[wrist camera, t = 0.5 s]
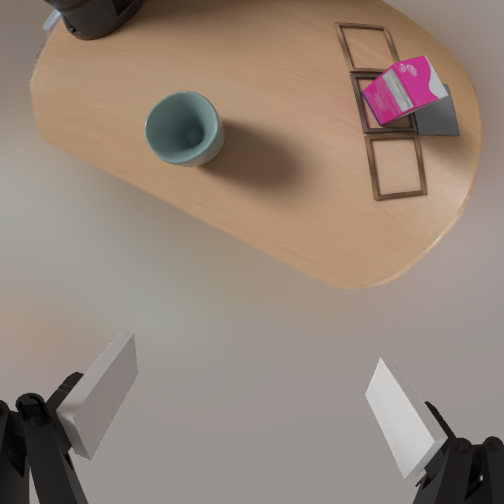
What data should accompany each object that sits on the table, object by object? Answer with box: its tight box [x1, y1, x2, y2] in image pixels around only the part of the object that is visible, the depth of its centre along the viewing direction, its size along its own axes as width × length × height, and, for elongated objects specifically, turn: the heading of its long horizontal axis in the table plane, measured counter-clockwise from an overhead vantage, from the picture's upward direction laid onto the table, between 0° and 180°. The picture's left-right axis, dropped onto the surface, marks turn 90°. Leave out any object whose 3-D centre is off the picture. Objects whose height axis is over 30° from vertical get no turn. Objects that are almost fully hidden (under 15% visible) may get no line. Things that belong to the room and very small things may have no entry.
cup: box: [144, 91, 225, 167], centre depth 30 cm, size 8×8×10 cm
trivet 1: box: [334, 22, 399, 73], centre depth 31 cm, size 9×9×1 cm
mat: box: [413, 84, 459, 136], centre depth 33 cm, size 9×9×1 cm
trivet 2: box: [364, 134, 426, 200], centre depth 35 cm, size 9×9×1 cm
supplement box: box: [362, 56, 448, 126], centre depth 28 cm, size 6×6×12 cm
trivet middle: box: [350, 74, 417, 133], centre depth 33 cm, size 9×9×1 cm
